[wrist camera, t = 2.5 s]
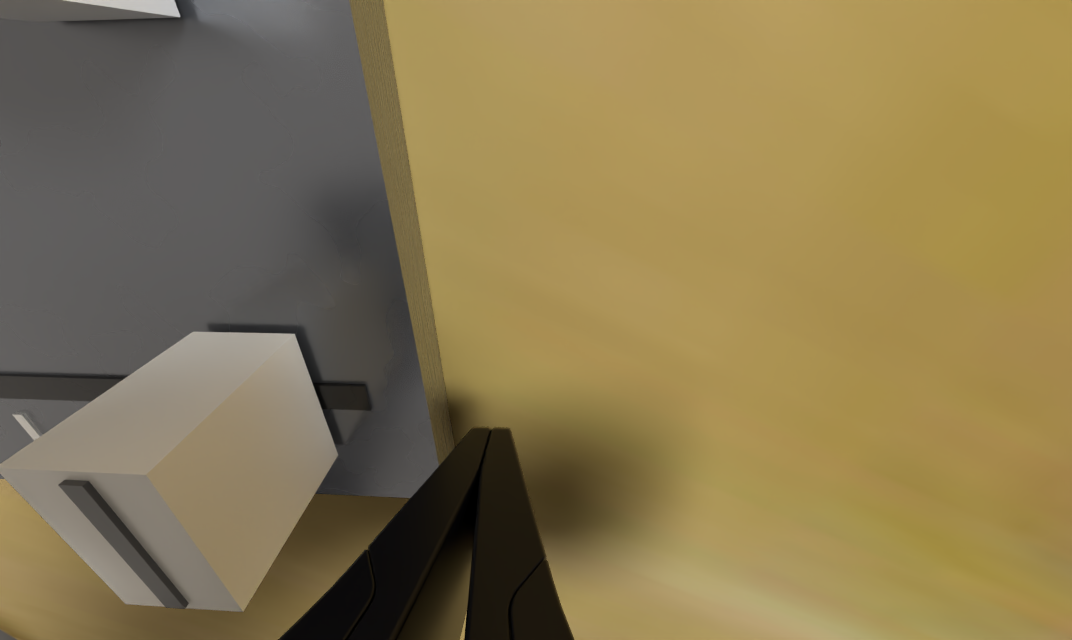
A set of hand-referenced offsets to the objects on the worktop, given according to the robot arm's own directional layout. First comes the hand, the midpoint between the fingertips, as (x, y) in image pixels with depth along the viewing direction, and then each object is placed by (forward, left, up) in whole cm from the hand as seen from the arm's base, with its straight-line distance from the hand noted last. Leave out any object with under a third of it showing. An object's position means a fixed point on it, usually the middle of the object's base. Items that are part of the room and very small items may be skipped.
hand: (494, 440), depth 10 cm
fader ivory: (0, +6, -1) cm, 6 cm away
